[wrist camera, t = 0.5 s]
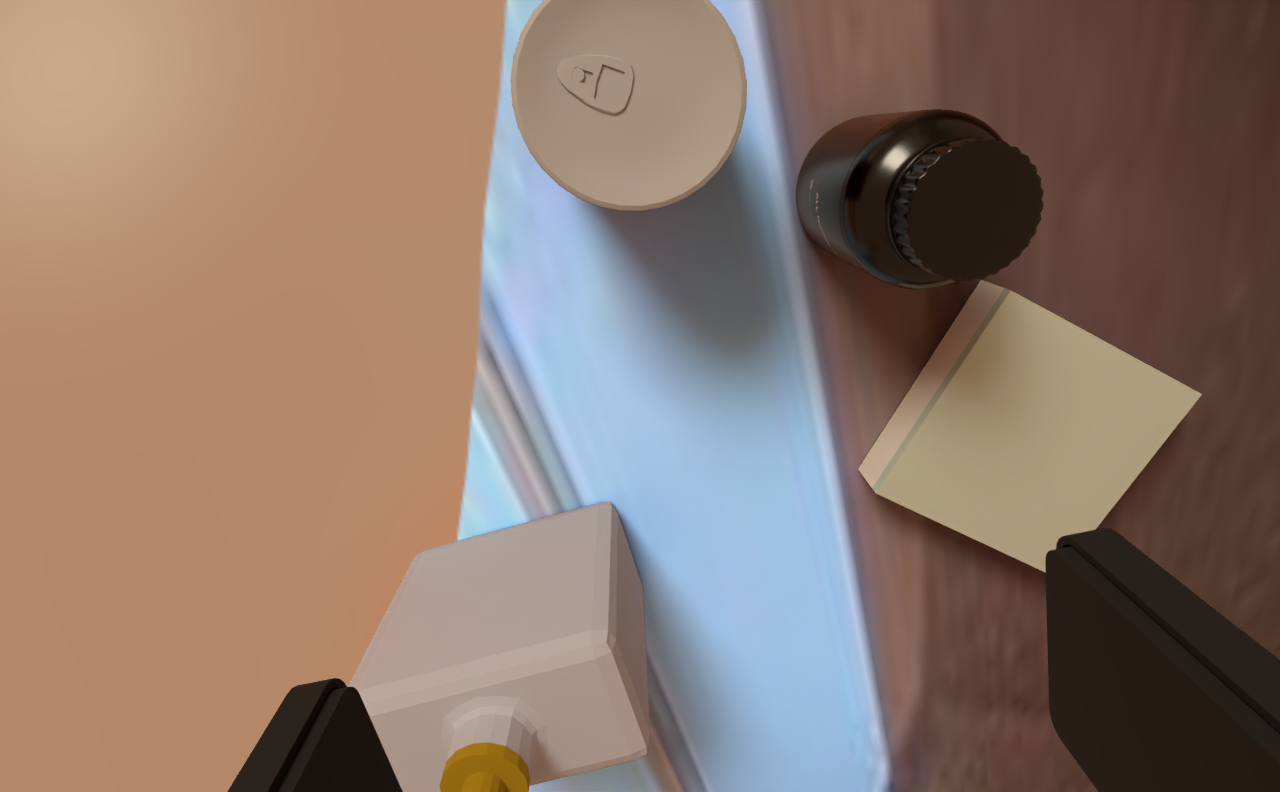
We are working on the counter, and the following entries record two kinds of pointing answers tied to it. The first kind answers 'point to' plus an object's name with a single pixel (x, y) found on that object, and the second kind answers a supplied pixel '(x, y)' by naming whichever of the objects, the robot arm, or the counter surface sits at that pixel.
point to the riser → (1023, 427)
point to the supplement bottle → (919, 197)
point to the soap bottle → (512, 658)
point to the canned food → (629, 97)
